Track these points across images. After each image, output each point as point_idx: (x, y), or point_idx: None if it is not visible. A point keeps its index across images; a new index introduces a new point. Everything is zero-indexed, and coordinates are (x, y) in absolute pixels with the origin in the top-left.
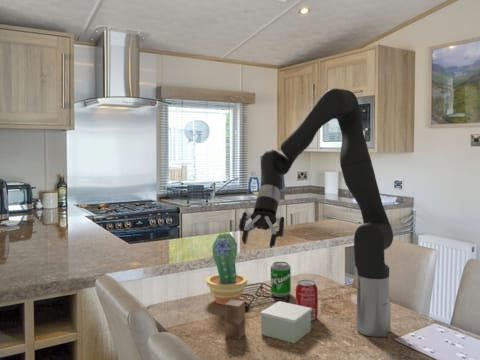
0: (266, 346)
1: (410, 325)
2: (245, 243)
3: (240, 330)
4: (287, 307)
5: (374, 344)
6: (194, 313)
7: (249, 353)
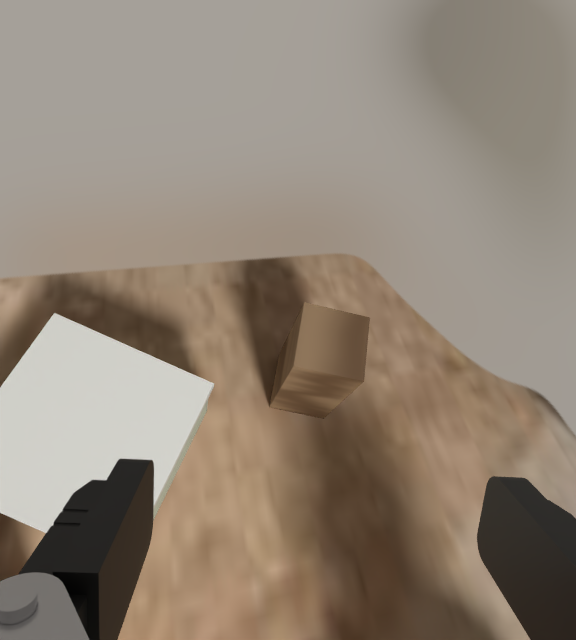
0: (179, 320)
1: None
2: (482, 527)
3: (281, 355)
4: (77, 468)
5: None
6: None
7: (229, 272)
